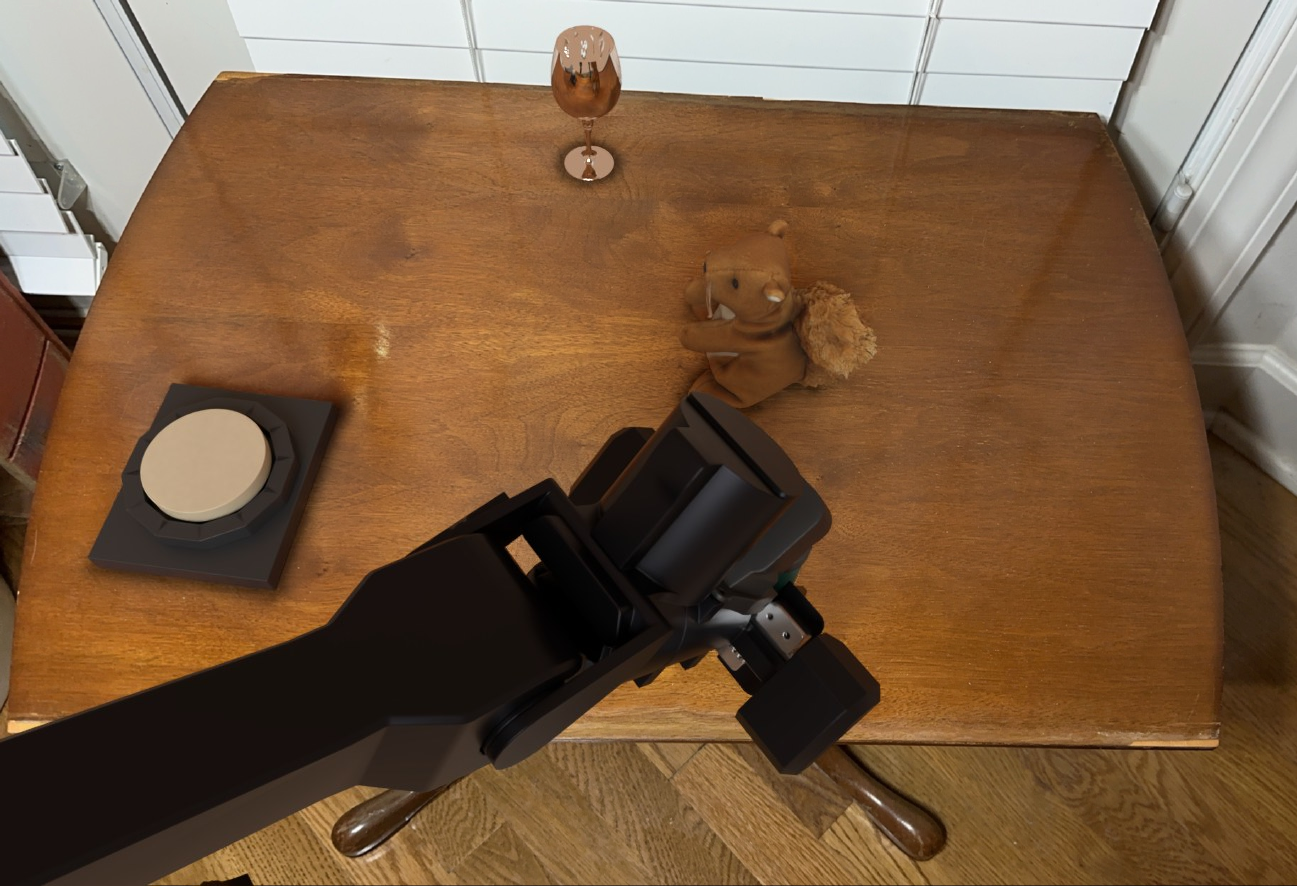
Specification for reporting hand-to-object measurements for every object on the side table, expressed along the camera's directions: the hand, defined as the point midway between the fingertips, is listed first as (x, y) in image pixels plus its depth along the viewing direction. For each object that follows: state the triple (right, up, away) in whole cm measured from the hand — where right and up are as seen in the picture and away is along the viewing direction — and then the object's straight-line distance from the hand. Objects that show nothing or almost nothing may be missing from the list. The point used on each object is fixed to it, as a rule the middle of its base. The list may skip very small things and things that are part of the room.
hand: (780, 571), depth 54 cm
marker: (-1, -4, +6) cm, 7 cm away
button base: (-37, +4, +11) cm, 39 cm away
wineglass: (-13, +32, +29) cm, 45 cm away
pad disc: (-37, +6, +8) cm, 39 cm away
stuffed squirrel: (+1, +13, +17) cm, 22 cm away
